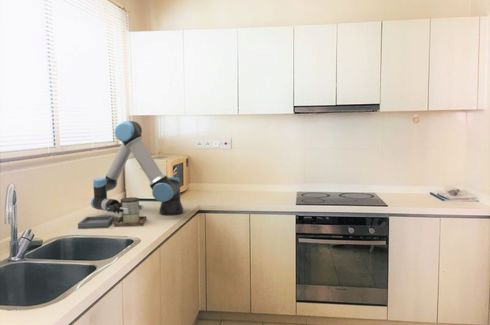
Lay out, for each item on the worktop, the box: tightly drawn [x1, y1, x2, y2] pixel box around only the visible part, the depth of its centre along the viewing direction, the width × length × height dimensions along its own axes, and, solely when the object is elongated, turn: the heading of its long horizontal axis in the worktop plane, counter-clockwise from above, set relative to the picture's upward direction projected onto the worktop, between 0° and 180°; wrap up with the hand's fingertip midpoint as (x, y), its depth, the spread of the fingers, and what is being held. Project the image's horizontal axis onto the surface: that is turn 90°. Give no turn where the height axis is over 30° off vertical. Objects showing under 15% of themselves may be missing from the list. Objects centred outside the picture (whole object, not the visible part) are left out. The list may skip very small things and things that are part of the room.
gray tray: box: [77, 215, 115, 230], centre depth 235 cm, size 16×16×3 cm
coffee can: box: [119, 196, 141, 223], centre depth 237 cm, size 10×10×14 cm
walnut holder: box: [113, 215, 148, 228], centre depth 237 cm, size 15×15×2 cm
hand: (135, 209), depth 234 cm, fingers closed on coffee can, 10 cm apart
